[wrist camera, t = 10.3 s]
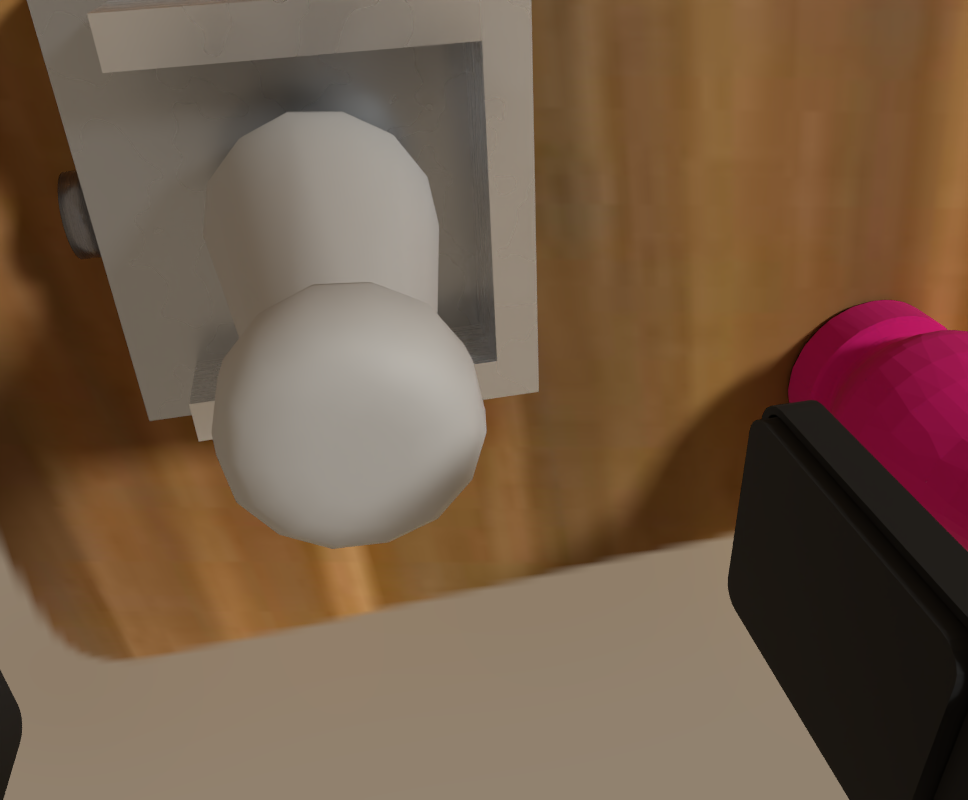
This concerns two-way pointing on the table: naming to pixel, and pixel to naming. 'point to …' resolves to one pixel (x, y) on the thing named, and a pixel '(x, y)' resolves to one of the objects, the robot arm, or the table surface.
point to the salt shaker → (336, 336)
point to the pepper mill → (897, 398)
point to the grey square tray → (258, 100)
